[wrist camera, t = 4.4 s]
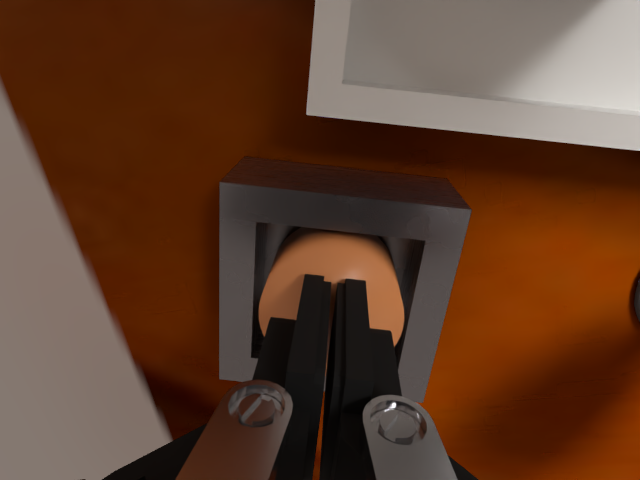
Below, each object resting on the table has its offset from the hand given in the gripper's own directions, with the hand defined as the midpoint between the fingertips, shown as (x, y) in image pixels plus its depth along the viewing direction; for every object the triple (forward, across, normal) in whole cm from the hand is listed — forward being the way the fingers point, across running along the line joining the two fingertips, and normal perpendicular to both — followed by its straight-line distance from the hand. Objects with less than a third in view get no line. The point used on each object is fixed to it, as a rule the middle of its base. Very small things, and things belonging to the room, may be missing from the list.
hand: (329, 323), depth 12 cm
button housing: (+4, 0, 0) cm, 4 cm away
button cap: (+2, 0, 0) cm, 2 cm away
